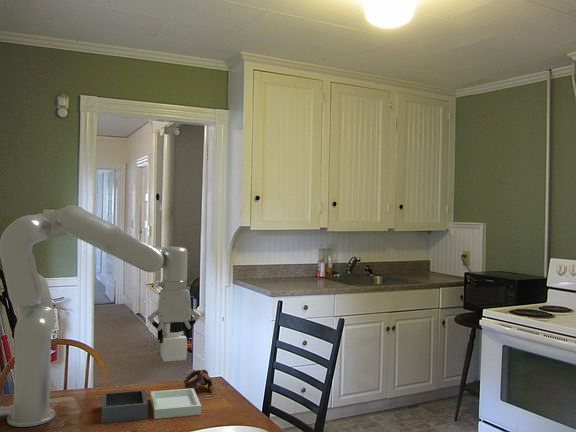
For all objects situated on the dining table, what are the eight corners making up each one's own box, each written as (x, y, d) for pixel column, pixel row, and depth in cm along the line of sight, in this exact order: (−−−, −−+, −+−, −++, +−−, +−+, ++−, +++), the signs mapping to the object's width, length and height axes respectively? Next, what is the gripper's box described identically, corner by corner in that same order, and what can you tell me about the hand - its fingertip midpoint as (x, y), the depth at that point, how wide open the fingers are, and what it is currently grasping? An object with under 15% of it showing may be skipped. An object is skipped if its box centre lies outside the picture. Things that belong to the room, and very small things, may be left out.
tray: (154, 419, 154) (154, 409, 154) (150, 400, 169) (150, 391, 169) (200, 414, 158) (201, 405, 158) (193, 396, 173) (193, 388, 173)
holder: (101, 423, 149) (101, 408, 149) (102, 407, 162) (102, 392, 161) (147, 419, 153) (147, 404, 153) (144, 403, 166) (145, 389, 166)
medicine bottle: (182, 353, 168) (183, 317, 167) (186, 359, 161) (187, 321, 161) (160, 355, 165) (161, 318, 165) (163, 361, 158) (164, 323, 158)
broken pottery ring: (213, 398, 174) (201, 378, 172) (189, 407, 176) (177, 388, 174) (219, 378, 186) (208, 359, 184) (197, 387, 187) (186, 369, 185)
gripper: (147, 288, 156) (146, 346, 157) (204, 286, 162) (202, 342, 162) (145, 284, 163) (144, 340, 164) (200, 283, 169) (199, 337, 169)
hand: (173, 341), depth 163 cm, fingers closed on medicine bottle, 7 cm apart
